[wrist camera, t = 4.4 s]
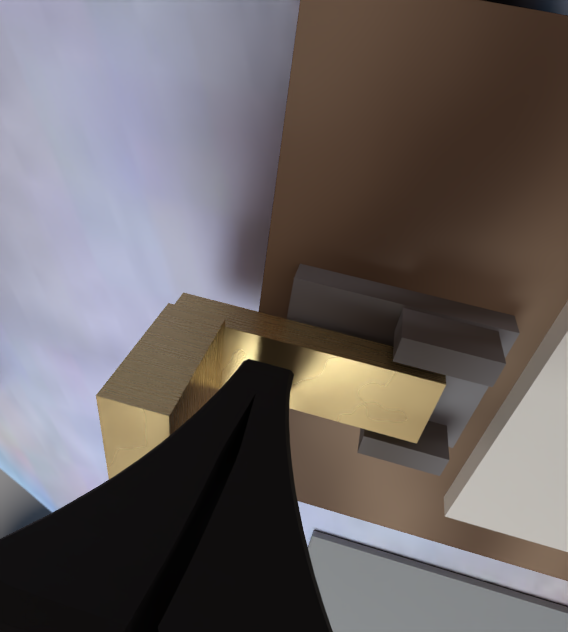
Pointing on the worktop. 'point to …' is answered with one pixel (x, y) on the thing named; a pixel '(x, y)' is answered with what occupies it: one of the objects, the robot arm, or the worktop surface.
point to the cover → (523, 454)
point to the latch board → (422, 234)
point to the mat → (417, 595)
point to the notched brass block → (264, 346)
